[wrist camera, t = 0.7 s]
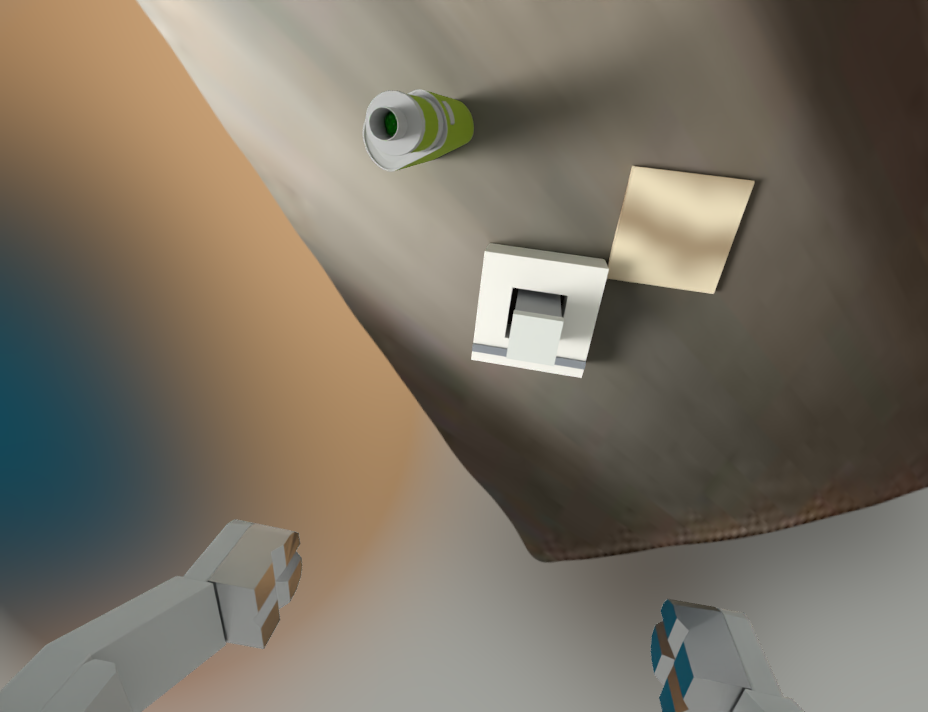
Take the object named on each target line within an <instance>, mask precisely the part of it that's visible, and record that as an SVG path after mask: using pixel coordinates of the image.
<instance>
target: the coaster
mask: <svg viewBox="0 0 928 712" xmlns="http://www.w3.org/2000/svg"><path fill="white" fill-rule="evenodd" d="M754 183H755V181H752V180H745V179H737V178H729V177H721V176H713V175H704V174H696V173H688V172H680V171H672V170H663V169H655V168H647V167H639V166H632V169H631V173H630V177H629V181H628V185H627V189H626V193H625V197H624V201H623V205H622V209H621V213H620V217H619V221H618V225H617V229H616V233H615V237H614V241H613V245H612V249H611V253H610V257H609V261H608V265H607V266H608V268H609V271H608V275H607V279H614V280H621V281H628V282H635V283H642V284H648V285H655V286H662V287H669V288H676V289H683V290H690V291H697V292H704V293H710V294H714V292H715V289H716V287H717V284H718V281H719V278H720V276H721V273H722V270H723V267H724V265H725V262H726V259H727V256H728V254H729V251H730V248H731V246H732V243H733V240H734V237H735V235H736V232H737V229H738V226H739V224H740V221H741V218H742V216H743V213H744V210H745V207H746V205H747V202H748V199H749V196H750V194H751V191H752V188H753V185H754Z"/></svg>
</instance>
